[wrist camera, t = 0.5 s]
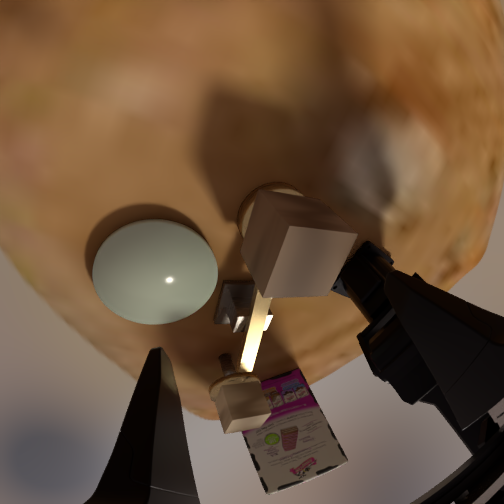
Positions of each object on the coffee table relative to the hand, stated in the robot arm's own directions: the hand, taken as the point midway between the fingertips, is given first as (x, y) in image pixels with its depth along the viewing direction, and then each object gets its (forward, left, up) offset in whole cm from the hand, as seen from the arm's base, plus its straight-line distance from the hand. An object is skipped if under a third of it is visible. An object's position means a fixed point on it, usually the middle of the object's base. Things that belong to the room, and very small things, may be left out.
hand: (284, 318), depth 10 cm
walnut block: (-5, 0, -11) cm, 12 cm away
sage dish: (+1, +8, -12) cm, 15 cm away
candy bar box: (-22, +22, -12) cm, 34 cm away
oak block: (-11, +17, -7) cm, 22 cm away
